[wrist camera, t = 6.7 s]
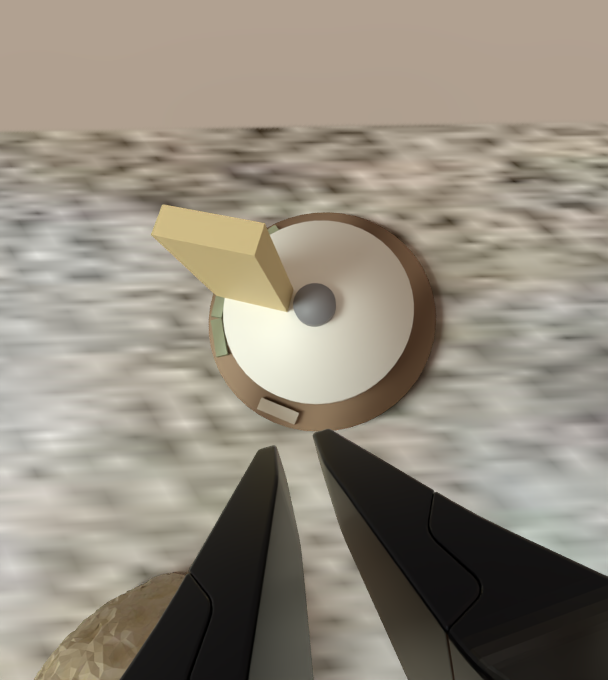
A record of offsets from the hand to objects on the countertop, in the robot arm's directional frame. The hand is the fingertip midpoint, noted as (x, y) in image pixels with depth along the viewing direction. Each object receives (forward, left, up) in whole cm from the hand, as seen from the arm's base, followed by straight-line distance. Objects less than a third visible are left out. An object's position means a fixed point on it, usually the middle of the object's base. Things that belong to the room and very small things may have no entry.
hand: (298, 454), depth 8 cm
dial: (+4, -6, -12) cm, 14 cm away
